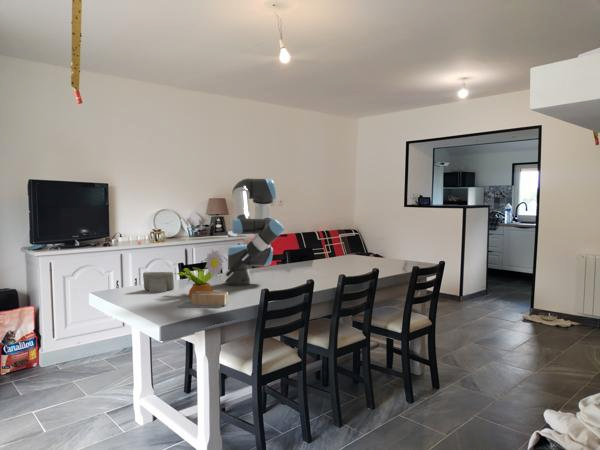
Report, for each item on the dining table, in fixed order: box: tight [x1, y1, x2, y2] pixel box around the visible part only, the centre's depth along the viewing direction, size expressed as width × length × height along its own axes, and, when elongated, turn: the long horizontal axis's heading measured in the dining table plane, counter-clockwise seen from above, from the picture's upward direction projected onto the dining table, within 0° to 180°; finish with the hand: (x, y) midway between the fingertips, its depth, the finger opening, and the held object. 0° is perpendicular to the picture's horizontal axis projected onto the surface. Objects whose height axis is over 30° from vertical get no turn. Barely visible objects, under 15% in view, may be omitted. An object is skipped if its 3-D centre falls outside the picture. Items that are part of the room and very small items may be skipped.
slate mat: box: [177, 299, 224, 309], centre depth 207 cm, size 13×20×1 cm, turn 89°
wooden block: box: [191, 291, 229, 306], centre depth 208 cm, size 7×5×16 cm
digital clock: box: [142, 271, 175, 293], centre depth 236 cm, size 16×9×11 cm, turn 88°
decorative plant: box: [173, 249, 224, 298], centre depth 227 cm, size 27×24×25 cm
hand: (222, 279), depth 207 cm, fingers closed
